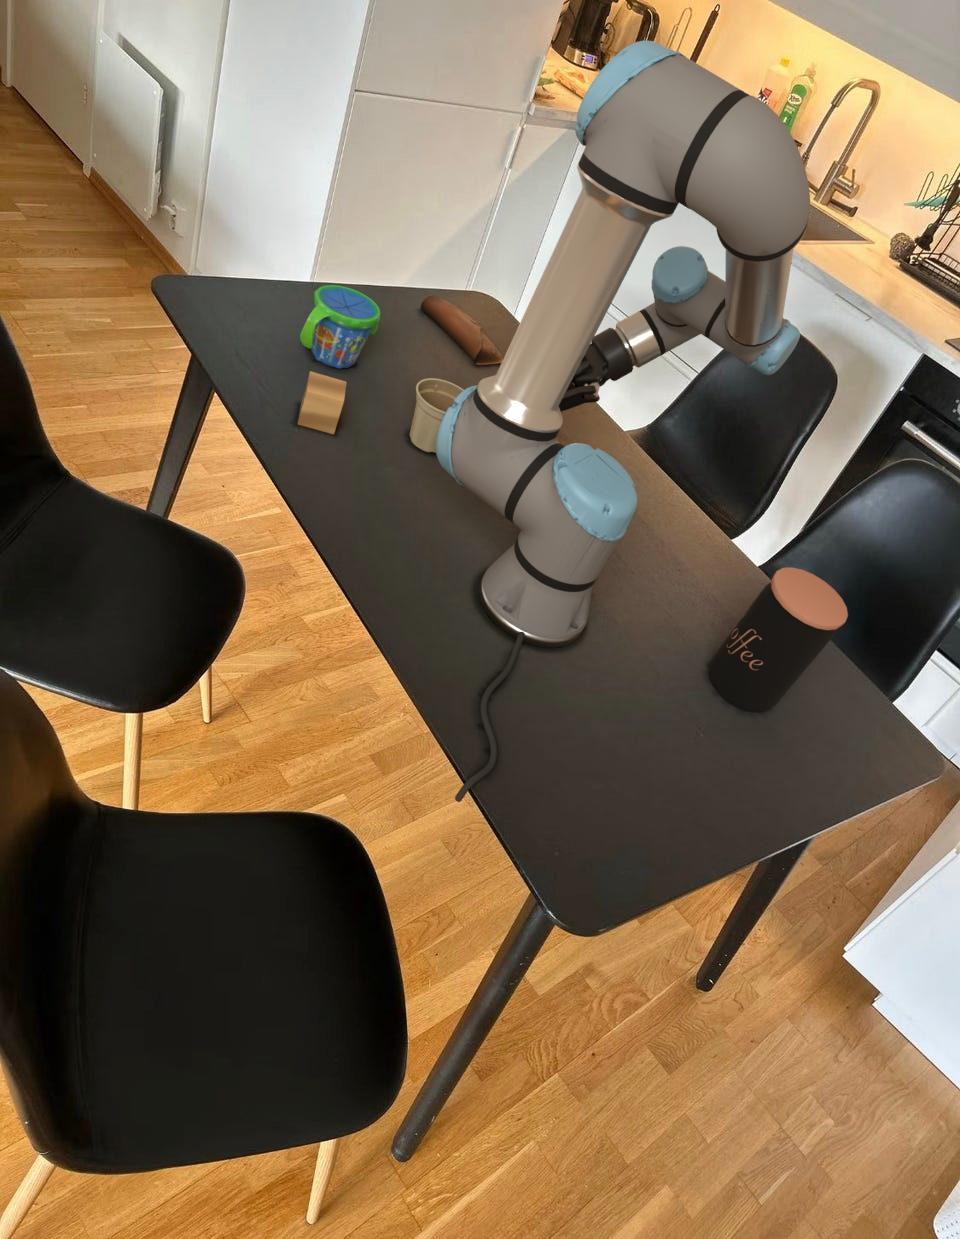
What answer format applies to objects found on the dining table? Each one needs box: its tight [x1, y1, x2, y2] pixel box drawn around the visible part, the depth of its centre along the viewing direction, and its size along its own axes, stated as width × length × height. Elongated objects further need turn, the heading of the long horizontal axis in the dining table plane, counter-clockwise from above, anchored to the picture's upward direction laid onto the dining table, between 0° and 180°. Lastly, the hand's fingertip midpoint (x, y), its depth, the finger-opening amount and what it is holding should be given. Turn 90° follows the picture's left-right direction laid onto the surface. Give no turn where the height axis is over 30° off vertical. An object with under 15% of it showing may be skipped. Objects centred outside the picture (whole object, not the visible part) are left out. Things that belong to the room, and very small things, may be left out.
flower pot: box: [409, 377, 465, 454], centre depth 150 cm, size 9×9×9 cm
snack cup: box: [299, 284, 381, 370], centre depth 158 cm, size 16×10×10 cm
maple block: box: [297, 370, 347, 435], centre depth 145 cm, size 6×6×6 cm
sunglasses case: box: [420, 295, 504, 367], centre depth 181 cm, size 18×7×7 cm
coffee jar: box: [708, 566, 849, 713], centre depth 131 cm, size 11×11×18 cm
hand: (489, 423), depth 154 cm, fingers closed
